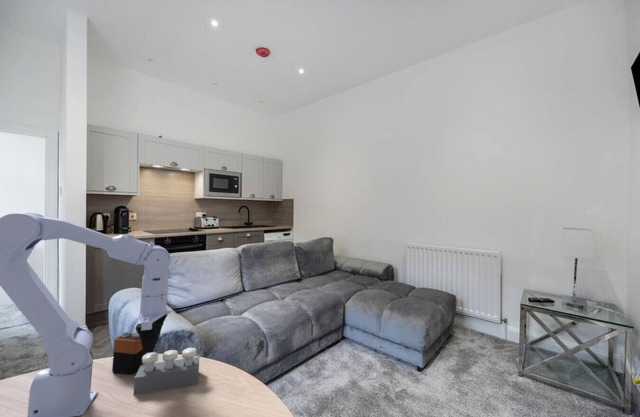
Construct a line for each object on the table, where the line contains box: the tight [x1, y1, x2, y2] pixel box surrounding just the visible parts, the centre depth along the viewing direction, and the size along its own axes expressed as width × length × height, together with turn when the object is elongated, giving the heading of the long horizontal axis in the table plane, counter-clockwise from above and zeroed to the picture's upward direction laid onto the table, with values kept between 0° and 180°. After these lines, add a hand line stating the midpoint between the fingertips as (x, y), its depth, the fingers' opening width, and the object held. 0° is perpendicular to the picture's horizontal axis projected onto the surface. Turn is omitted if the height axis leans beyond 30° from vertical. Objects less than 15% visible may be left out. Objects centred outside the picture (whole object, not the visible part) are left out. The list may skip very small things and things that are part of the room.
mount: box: [132, 356, 200, 396], centre depth 69 cm, size 14×6×4 cm, turn 112°
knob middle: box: [162, 349, 179, 370], centre depth 69 cm, size 3×3×5 cm
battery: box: [111, 331, 147, 376], centre depth 74 cm, size 4×7×10 cm, turn 83°
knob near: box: [142, 352, 159, 373], centre depth 68 cm, size 3×3×5 cm
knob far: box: [181, 347, 197, 367], centre depth 71 cm, size 3×3×5 cm
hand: (150, 347), depth 68 cm, fingers open, 4 cm apart
